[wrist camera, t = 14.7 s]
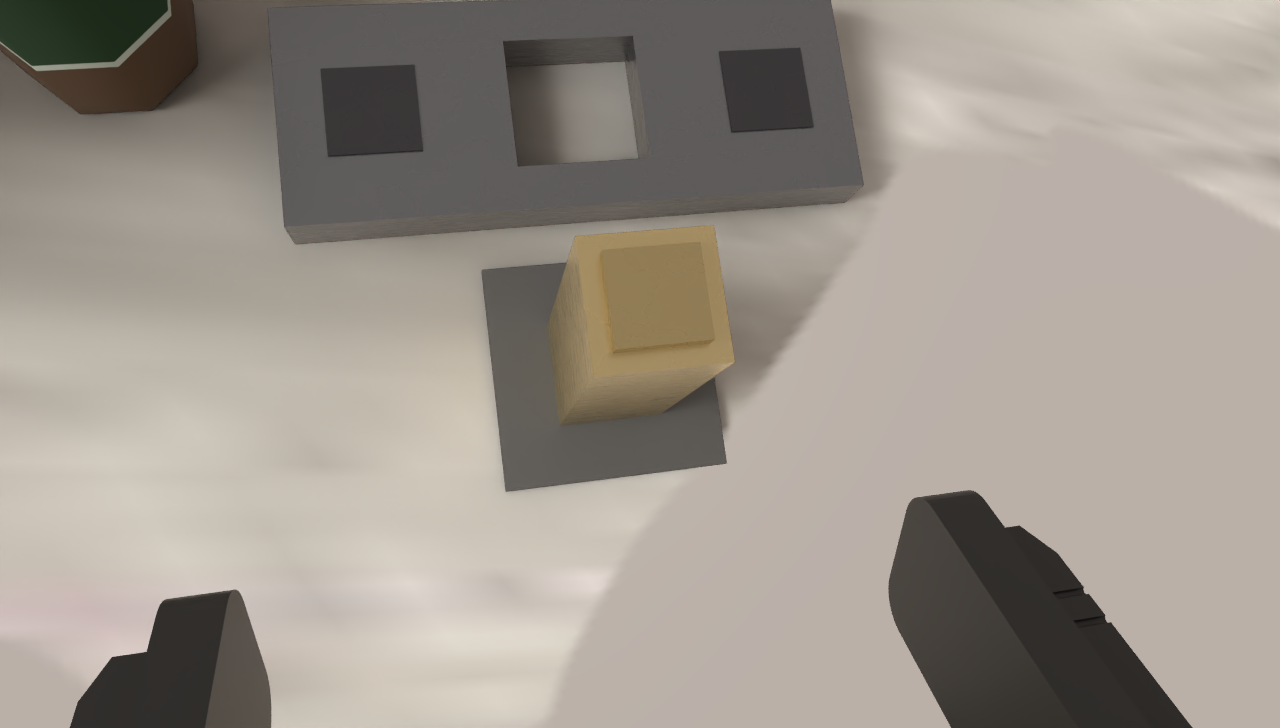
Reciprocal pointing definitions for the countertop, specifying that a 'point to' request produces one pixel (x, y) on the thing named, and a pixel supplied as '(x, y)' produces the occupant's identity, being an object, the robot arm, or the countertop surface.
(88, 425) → the countertop surface
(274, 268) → the countertop surface
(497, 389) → the rubber mat
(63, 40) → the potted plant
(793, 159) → the grey slotted plate
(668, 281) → the wooden square peg
